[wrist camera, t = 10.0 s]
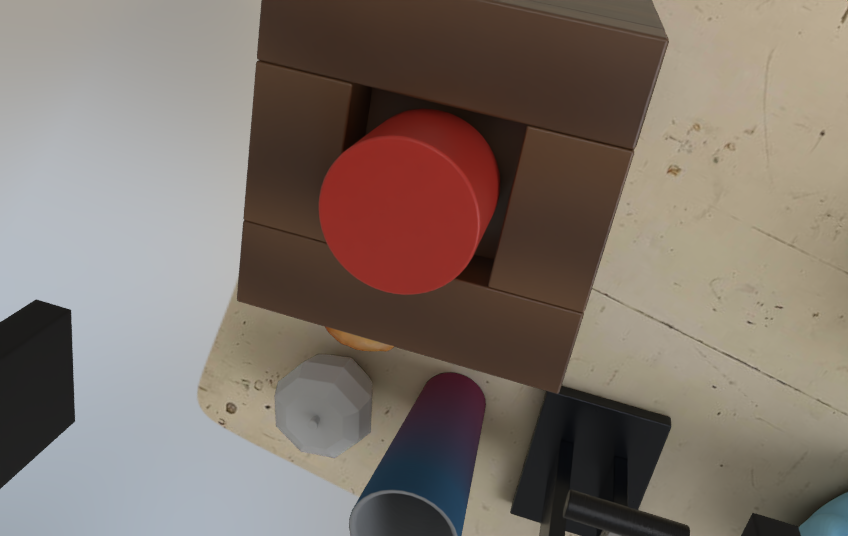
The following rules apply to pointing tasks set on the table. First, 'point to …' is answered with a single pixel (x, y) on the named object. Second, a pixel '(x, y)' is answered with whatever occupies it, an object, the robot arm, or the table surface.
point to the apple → (324, 405)
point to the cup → (426, 465)
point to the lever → (618, 518)
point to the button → (410, 201)
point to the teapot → (828, 519)
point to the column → (498, 124)
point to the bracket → (587, 457)
